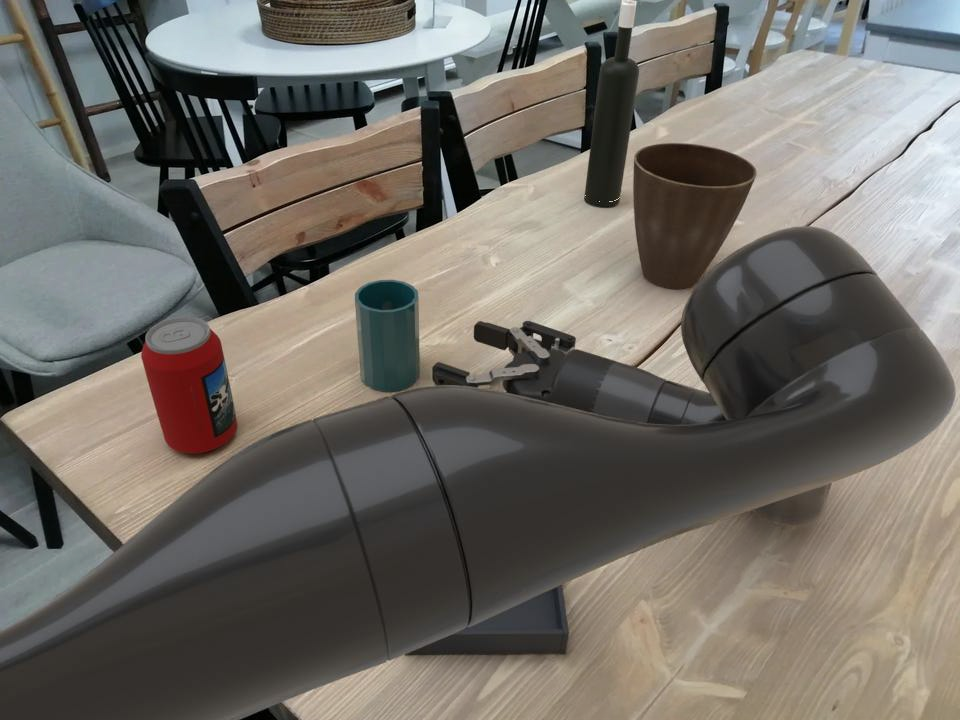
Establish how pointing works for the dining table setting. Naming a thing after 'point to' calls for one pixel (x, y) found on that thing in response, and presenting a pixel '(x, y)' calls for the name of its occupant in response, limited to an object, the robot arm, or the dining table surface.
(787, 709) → the dining table surface
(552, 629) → the tray
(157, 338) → the beverage can
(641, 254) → the flower pot
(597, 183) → the wine bottle
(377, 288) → the cup
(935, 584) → the dining table surface
